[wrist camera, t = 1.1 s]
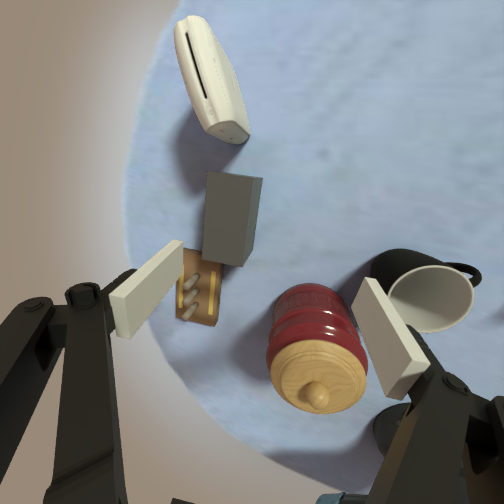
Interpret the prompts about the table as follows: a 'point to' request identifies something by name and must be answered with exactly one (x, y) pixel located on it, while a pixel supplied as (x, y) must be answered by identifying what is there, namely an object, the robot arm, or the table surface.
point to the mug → (425, 288)
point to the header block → (198, 289)
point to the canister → (316, 351)
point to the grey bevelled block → (230, 217)
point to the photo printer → (210, 81)
